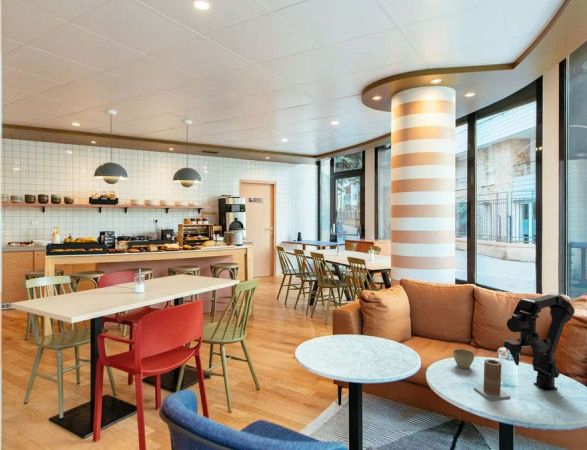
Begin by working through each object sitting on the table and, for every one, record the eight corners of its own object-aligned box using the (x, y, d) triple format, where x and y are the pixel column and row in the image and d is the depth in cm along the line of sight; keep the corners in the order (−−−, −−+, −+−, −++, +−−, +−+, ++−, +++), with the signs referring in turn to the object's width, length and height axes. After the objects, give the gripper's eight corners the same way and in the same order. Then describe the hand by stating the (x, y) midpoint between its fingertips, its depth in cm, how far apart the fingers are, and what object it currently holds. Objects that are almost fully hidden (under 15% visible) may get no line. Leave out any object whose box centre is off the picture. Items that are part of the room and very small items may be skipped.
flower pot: (448, 363, 199) (448, 350, 198) (464, 361, 202) (464, 347, 201) (462, 372, 189) (462, 357, 189) (478, 369, 192) (479, 355, 192)
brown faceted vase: (488, 387, 172) (489, 358, 171) (502, 392, 167) (503, 362, 166) (481, 390, 169) (482, 361, 168) (495, 396, 164) (496, 366, 163)
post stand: (493, 387, 174) (494, 375, 174) (510, 398, 164) (510, 385, 164) (473, 389, 172) (474, 377, 172) (489, 400, 162) (489, 388, 162)
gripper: (523, 336, 156) (521, 374, 157) (563, 333, 160) (561, 370, 161) (503, 327, 167) (502, 363, 168) (541, 325, 171) (539, 360, 172)
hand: (526, 364), depth 167 cm, fingers open, 9 cm apart
